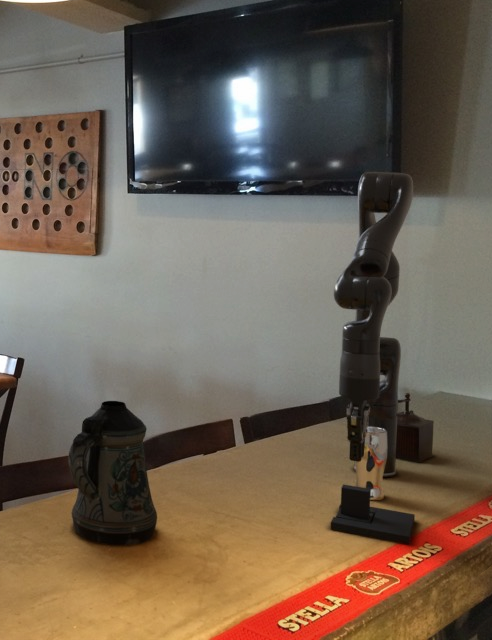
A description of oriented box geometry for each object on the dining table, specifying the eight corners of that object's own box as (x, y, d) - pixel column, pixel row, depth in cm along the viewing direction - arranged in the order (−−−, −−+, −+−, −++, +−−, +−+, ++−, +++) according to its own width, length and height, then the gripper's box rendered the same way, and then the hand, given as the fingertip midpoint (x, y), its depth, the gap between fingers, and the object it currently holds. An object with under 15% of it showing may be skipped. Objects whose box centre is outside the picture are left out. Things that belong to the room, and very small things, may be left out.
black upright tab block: (340, 514, 168) (341, 481, 168) (373, 520, 165) (374, 486, 165) (335, 523, 163) (336, 489, 163) (369, 530, 160) (371, 495, 160)
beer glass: (389, 502, 176) (391, 434, 176) (355, 499, 178) (357, 432, 177) (381, 492, 183) (383, 426, 183) (349, 489, 185) (351, 424, 184)
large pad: (341, 508, 172) (341, 501, 172) (414, 521, 165) (414, 514, 165) (330, 529, 160) (330, 521, 160) (408, 544, 153) (409, 536, 153)
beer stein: (162, 520, 163) (165, 397, 162) (145, 558, 144) (149, 419, 143) (83, 510, 168) (85, 390, 167) (57, 544, 150) (59, 411, 149)
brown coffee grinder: (435, 455, 214) (437, 387, 213) (418, 463, 206) (421, 393, 206) (375, 443, 225) (378, 378, 224) (358, 450, 218) (360, 383, 217)
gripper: (375, 381, 155) (372, 470, 156) (383, 370, 167) (380, 453, 168) (334, 377, 159) (331, 464, 160) (344, 366, 171) (342, 447, 172)
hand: (356, 458), depth 164 cm, fingers open, 3 cm apart
